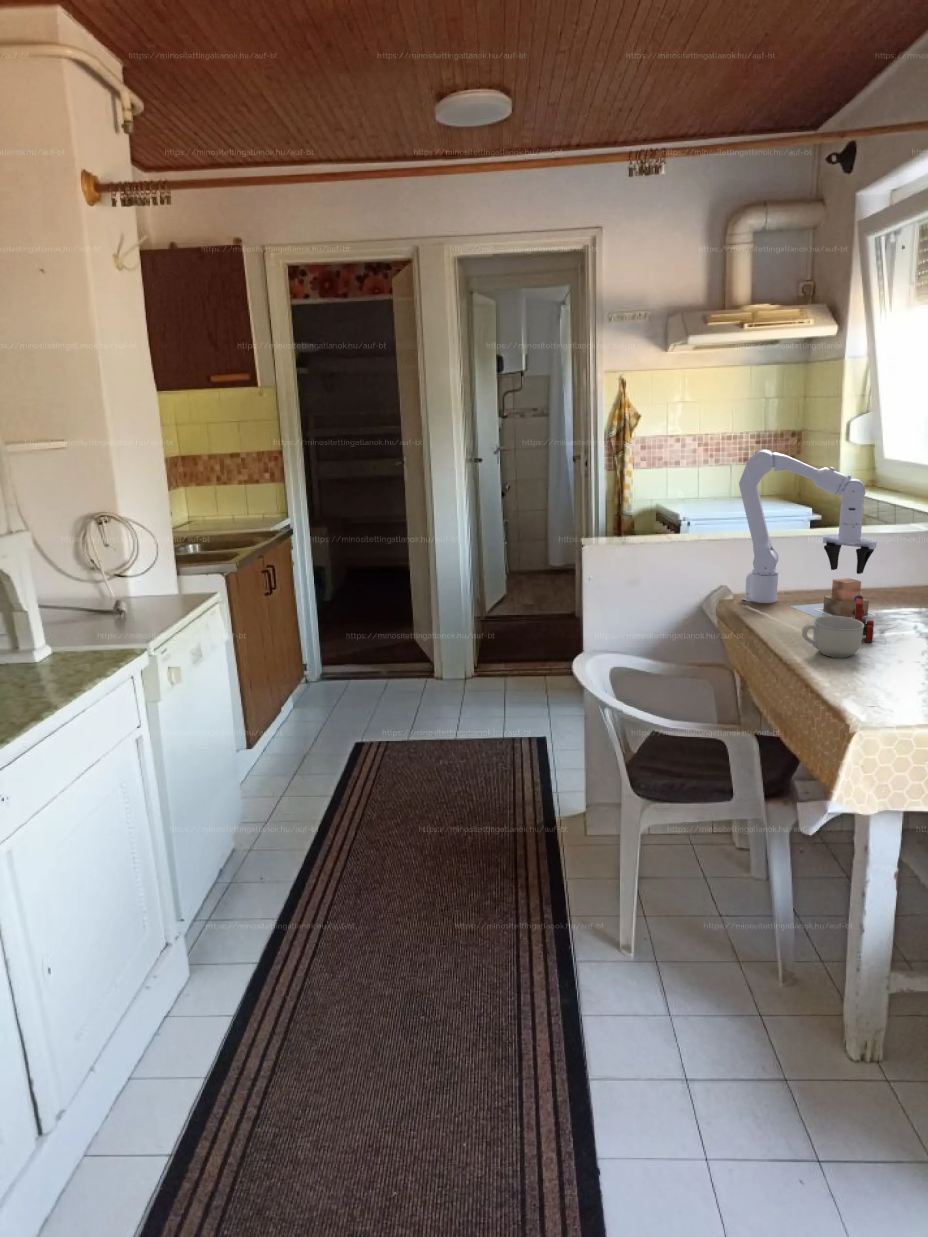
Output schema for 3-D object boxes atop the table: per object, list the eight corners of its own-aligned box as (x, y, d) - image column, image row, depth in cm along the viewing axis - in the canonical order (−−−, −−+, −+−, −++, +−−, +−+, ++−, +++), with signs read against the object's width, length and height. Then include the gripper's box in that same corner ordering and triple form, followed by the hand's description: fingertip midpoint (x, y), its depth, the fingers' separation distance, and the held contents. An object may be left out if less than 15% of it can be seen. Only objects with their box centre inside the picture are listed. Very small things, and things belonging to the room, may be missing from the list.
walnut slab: (823, 610, 233) (824, 596, 232) (849, 608, 234) (850, 594, 233) (840, 617, 225) (841, 602, 224) (867, 614, 227) (868, 600, 226)
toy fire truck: (872, 632, 213) (876, 593, 211) (872, 646, 203) (876, 604, 200) (842, 630, 216) (846, 591, 214) (840, 643, 205) (844, 602, 203)
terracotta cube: (831, 597, 231) (832, 579, 229) (847, 595, 232) (848, 577, 230) (843, 601, 226) (844, 583, 225) (859, 599, 227) (861, 581, 226)
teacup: (852, 647, 202) (855, 615, 200) (868, 660, 192) (871, 627, 190) (792, 647, 204) (794, 615, 201) (805, 661, 193) (807, 627, 191)
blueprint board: (789, 608, 239) (789, 605, 239) (840, 604, 241) (840, 601, 241) (826, 624, 222) (826, 621, 222) (881, 619, 224) (881, 616, 224)
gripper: (818, 522, 236) (814, 569, 239) (868, 527, 224) (864, 577, 228) (832, 519, 240) (828, 566, 243) (882, 524, 228) (877, 573, 232)
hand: (846, 571), depth 236 cm, fingers open, 7 cm apart
